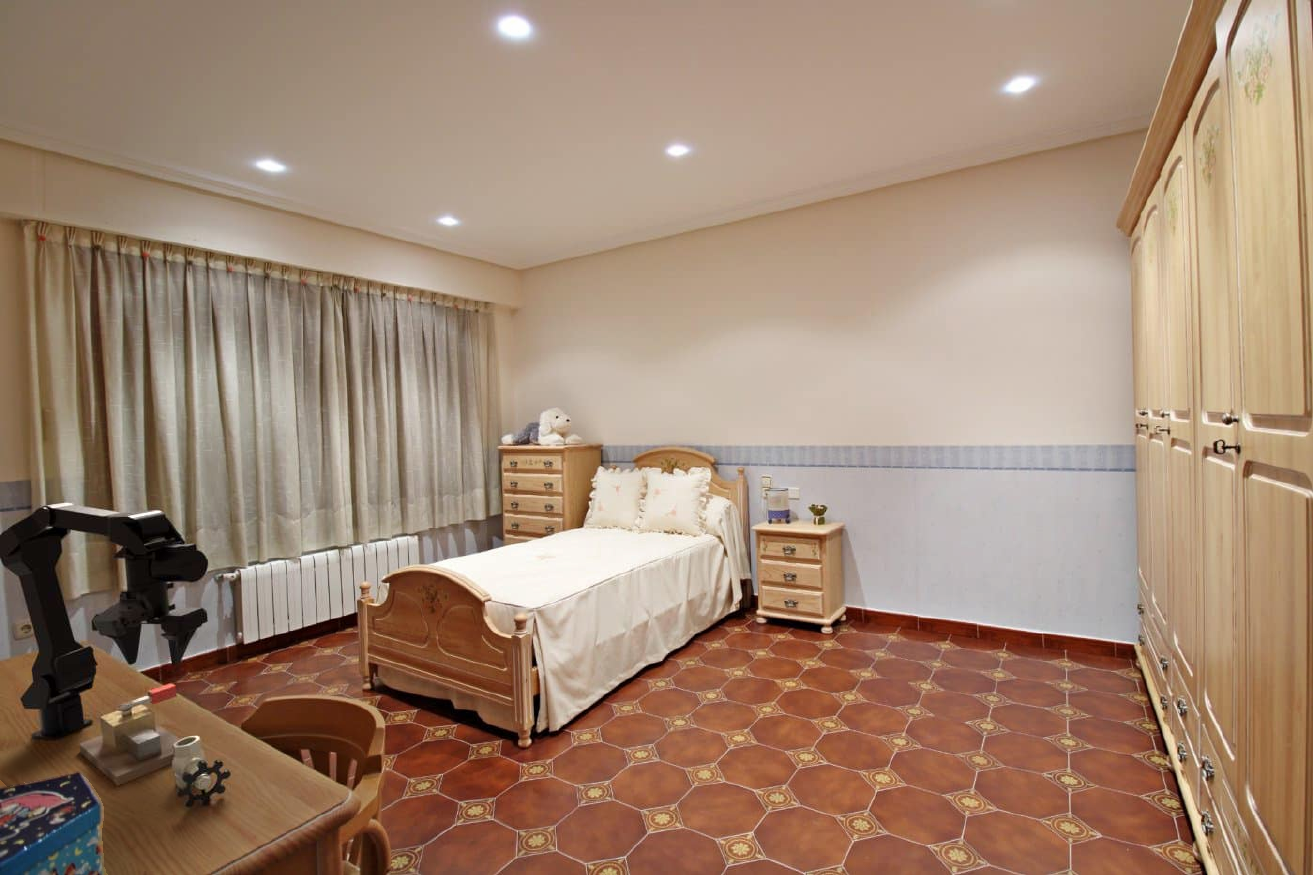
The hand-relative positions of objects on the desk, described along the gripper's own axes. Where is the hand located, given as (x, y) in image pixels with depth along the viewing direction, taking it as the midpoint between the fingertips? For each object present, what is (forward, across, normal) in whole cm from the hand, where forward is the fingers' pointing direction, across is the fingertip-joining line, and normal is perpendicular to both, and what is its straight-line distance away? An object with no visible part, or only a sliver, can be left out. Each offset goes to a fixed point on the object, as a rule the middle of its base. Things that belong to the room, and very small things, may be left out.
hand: (154, 664), depth 115 cm
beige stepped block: (+11, +2, -6) cm, 13 cm away
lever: (+6, +1, -3) cm, 7 cm away
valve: (+13, +23, -16) cm, 31 cm away
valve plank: (+13, +2, -6) cm, 15 cm away
